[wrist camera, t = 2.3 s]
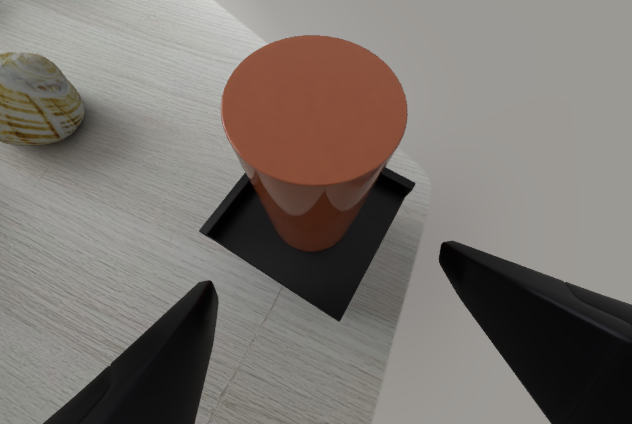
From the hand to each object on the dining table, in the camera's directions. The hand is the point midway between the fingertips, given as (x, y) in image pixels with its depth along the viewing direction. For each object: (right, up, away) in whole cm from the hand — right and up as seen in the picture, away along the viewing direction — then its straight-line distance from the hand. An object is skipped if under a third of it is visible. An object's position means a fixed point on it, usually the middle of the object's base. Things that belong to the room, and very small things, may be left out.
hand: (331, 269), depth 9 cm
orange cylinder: (-1, +2, +7) cm, 7 cm away
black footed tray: (-1, 0, +14) cm, 14 cm away
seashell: (-30, +12, +17) cm, 36 cm away
